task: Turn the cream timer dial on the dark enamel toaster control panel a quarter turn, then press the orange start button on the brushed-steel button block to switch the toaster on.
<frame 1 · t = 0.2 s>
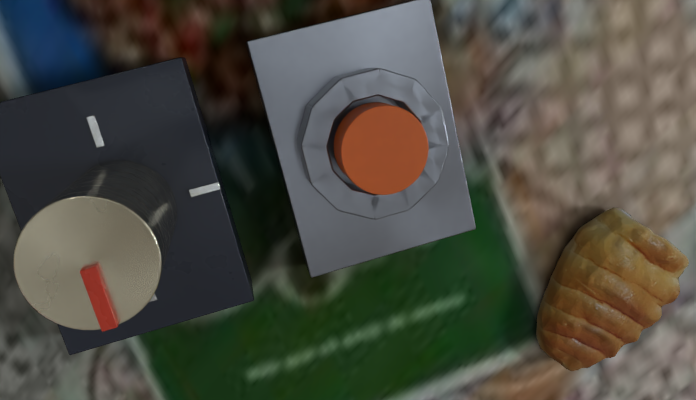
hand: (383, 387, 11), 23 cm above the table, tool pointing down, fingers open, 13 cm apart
start button: (380, 147, 30), point 5 cm above the table, slide at 0.1 cm
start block: (359, 135, 34), on the table
dial: (107, 235, 26), point 7 cm above the table, hinge at 0.0°
pastry: (597, 277, 39), on the table
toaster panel: (132, 197, 33), on the table
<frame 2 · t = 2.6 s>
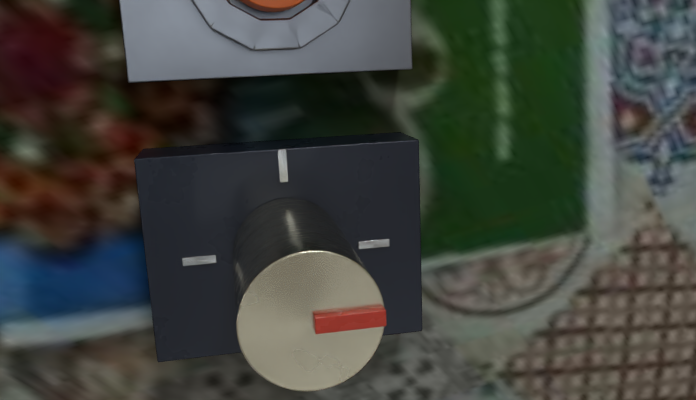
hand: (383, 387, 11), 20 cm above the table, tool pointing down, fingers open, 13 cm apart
dial: (299, 282, 25), point 7 cm above the table, hinge at 0.0°
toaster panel: (282, 233, 31), on the table
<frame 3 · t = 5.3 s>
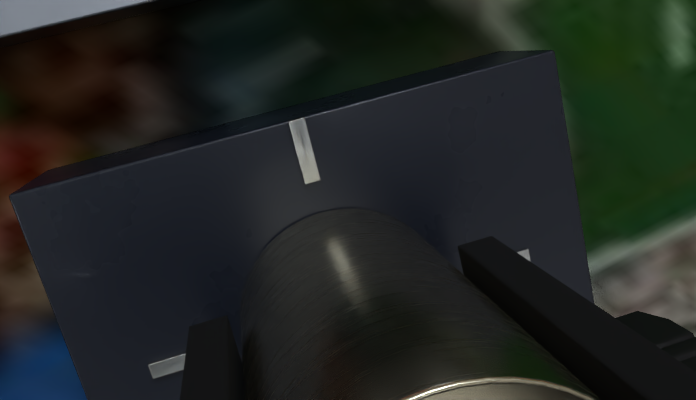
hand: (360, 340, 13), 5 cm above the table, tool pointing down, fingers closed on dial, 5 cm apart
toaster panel: (326, 268, 18), on the table
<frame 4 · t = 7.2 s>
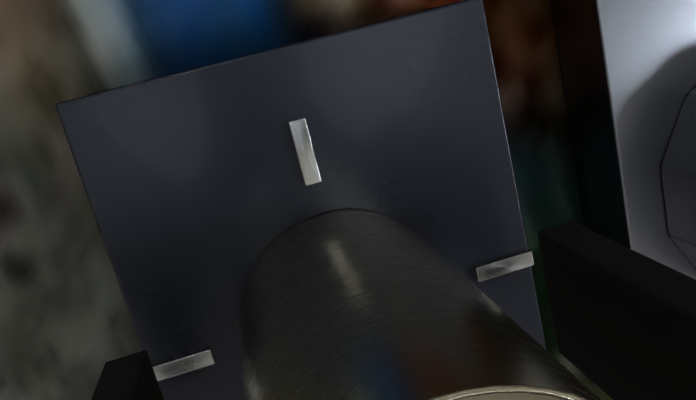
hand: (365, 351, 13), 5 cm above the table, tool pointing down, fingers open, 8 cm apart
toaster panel: (327, 270, 18), on the table
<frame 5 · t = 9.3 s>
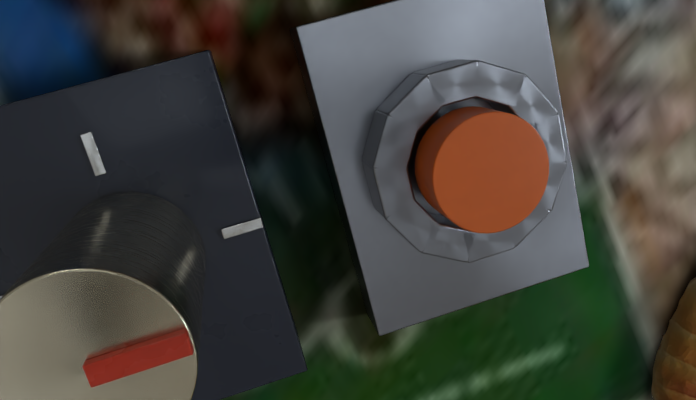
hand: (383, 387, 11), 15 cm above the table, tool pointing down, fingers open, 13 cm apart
start button: (480, 168, 22), point 5 cm above the table, slide at 0.1 cm
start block: (436, 148, 26), on the table
dial: (114, 306, 18), point 7 cm above the table, hinge at 90.3°
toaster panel: (143, 236, 25), on the table
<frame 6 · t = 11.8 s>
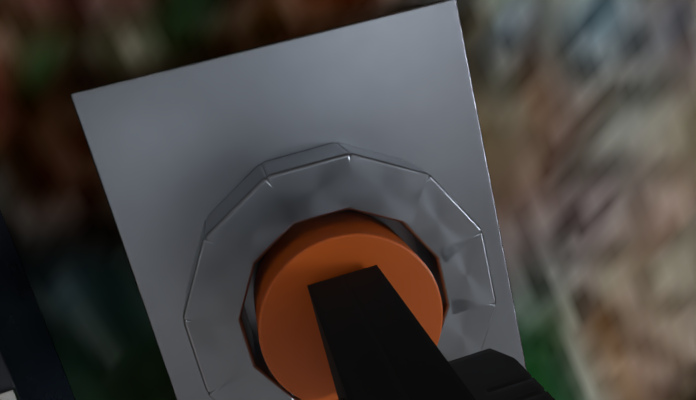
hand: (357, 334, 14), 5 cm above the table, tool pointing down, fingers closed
start button: (344, 307, 15), point 4 cm above the table, slide at -0.8 cm, touching gripper
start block: (321, 258, 18), on the table
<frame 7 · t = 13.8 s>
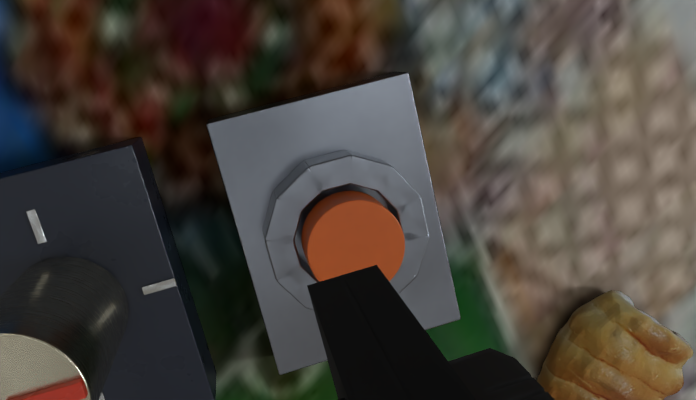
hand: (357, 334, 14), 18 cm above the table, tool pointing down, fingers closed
start button: (352, 242, 27), point 5 cm above the table, slide at 0.1 cm
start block: (334, 217, 32), on the table
dial: (41, 354, 23), point 7 cm above the table, hinge at 90.3°
pastry: (594, 361, 36), on the table
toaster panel: (84, 287, 30), on the table
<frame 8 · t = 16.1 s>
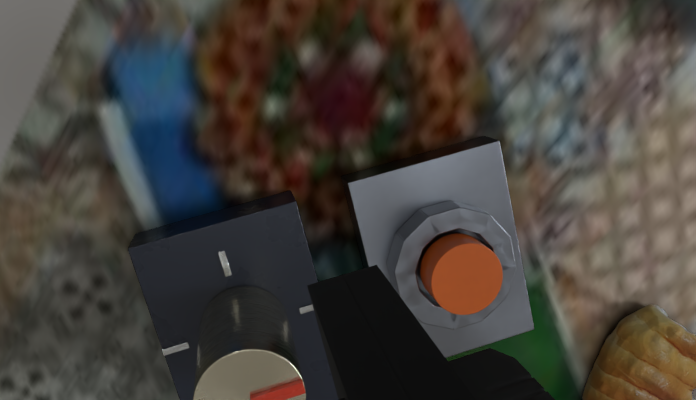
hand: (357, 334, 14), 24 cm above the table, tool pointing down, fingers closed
start button: (460, 273, 36), point 5 cm above the table, slide at 0.1 cm
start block: (434, 249, 40), on the table
dial: (247, 361, 32), point 7 cm above the table, hinge at 90.3°
pastry: (634, 361, 45), on the table
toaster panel: (243, 306, 39), on the table
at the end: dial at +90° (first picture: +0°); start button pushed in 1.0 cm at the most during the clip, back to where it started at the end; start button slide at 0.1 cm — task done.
